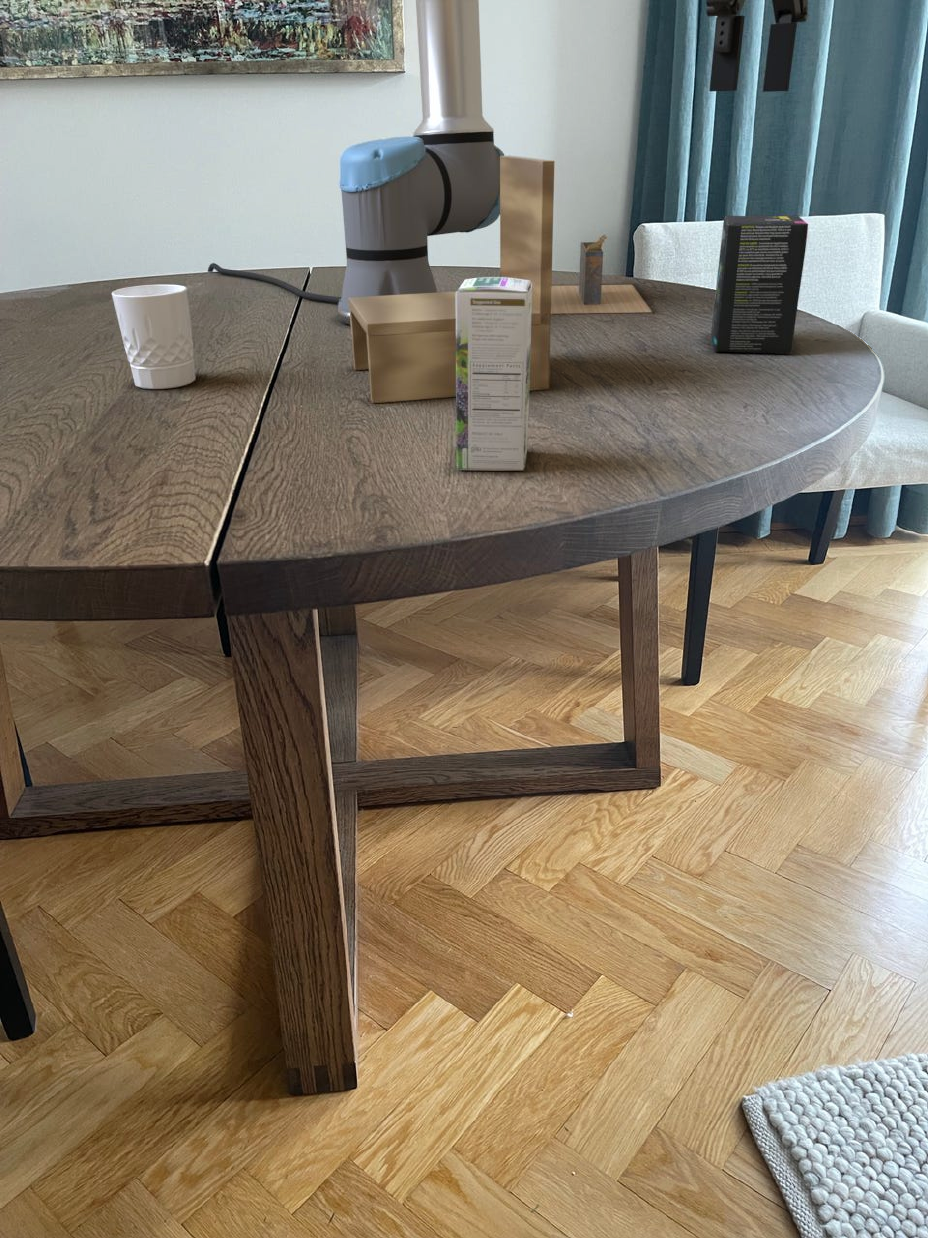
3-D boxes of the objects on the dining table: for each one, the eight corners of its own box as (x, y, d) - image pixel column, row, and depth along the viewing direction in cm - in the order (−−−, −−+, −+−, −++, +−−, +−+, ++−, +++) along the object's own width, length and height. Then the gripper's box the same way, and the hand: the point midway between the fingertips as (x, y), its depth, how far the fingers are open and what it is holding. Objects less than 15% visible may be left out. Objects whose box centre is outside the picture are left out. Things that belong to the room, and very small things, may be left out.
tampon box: (792, 355, 111) (812, 222, 104) (713, 353, 113) (726, 222, 106) (783, 336, 120) (801, 213, 113) (710, 334, 122) (723, 213, 115)
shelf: (372, 403, 96) (356, 167, 85) (353, 368, 110) (338, 160, 99) (549, 389, 100) (554, 160, 89) (509, 356, 113) (510, 155, 103)
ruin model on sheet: (652, 312, 136) (657, 241, 132) (540, 313, 137) (541, 243, 133) (632, 284, 158) (636, 222, 154) (536, 286, 159) (537, 224, 155)
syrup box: (463, 449, 82) (459, 276, 75) (530, 450, 82) (532, 276, 75) (456, 471, 77) (451, 288, 70) (527, 472, 77) (529, 287, 70)
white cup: (214, 375, 108) (201, 285, 103) (174, 393, 101) (158, 297, 96) (156, 371, 110) (141, 283, 105) (114, 388, 104) (95, 294, 99)
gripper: (763, -193, 80) (733, 89, 90) (860, -143, 97) (826, 90, 107) (684, -177, 84) (664, 91, 95) (791, -132, 101) (764, 92, 112)
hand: (750, 91), depth 101 cm, fingers open, 13 cm apart
